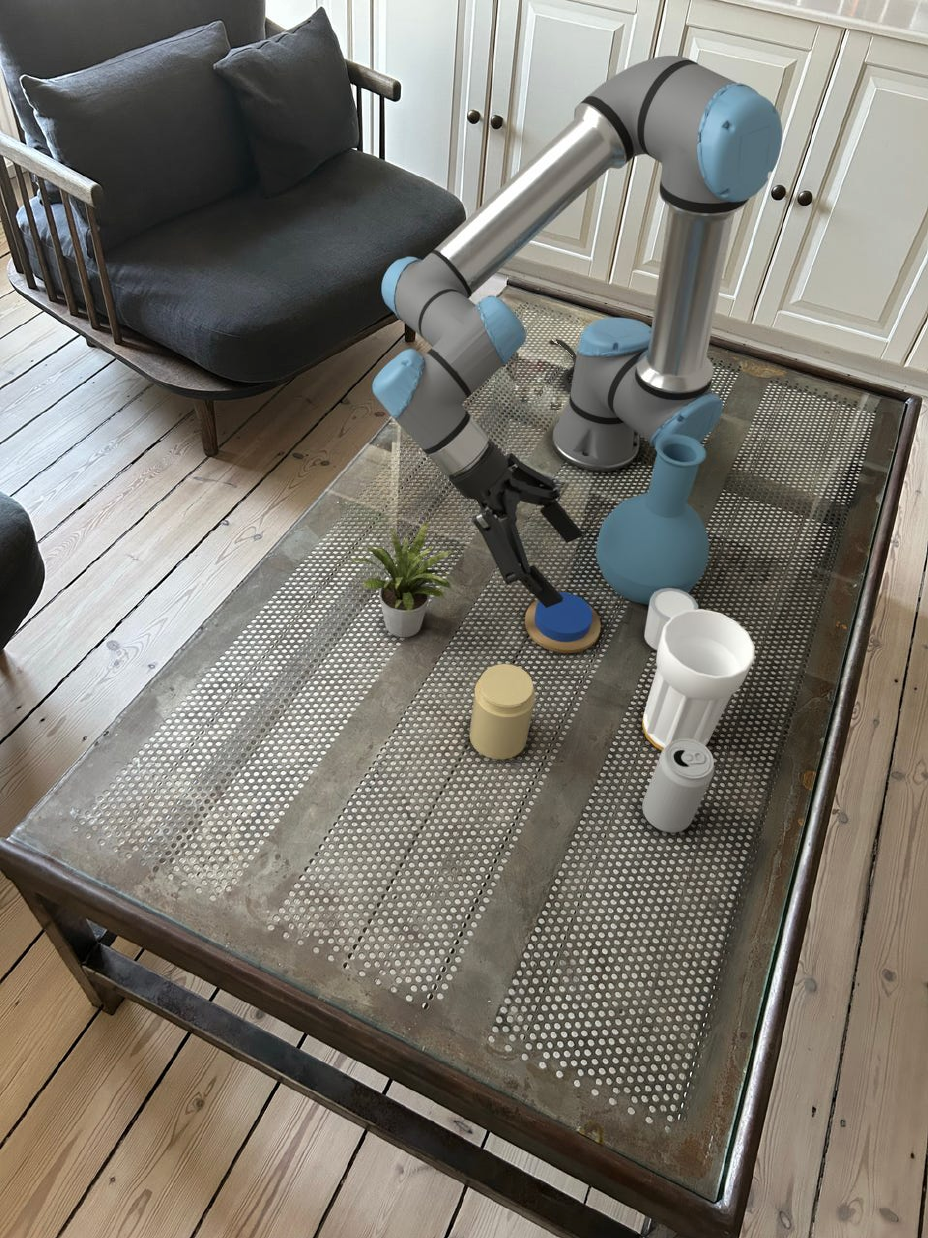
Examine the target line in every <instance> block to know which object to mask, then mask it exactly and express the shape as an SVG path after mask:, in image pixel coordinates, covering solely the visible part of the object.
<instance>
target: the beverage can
mask: <svg viewBox="0 0 928 1238" xmlns="http://www.w3.org/2000/svg"><path fill="white" fill-rule="evenodd" d="M714 774H715V760H714V755H713V754H712V752H711V751H710V749H709V748H708V747H707V745H706V746H705V745H703V744H702V743H700V742H698V741H696V740H693V739H689V738H680V739H676V740H674V741H672V742H671V743H670V744H669V745H668V746H666V747H665V748H664V749H663V751H661V752H660V755H659V758H658V760H657V763H656V765H655V769H654V771H653V774H652V776H651V779H650V781H649V784H648V786H647V789H646V792H645V795H644V797H643V800H642V803H641V804H642V805H641V809H642V813H643V815H644V817H645V819H646V821H647V822H648V823H649V824H650V825H651V826H653V827H654V828H655V829H657V830H659V831H661V832H665V833H679V832H682V831H684V830H686V829H688V828H689V827H690V825H691V824H692V822H693V820H694V818H695V817H696V813H697V811H698V809H699V807H700V805H701V802H702V801H703V798H704V796H705V795H706V792H707V790H708V787H709V785H710V783H711V781H712V779H713V777H714Z"/></svg>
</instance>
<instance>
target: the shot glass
mask: <svg viewBox="0 0 928 1238" xmlns="http://www.w3.org/2000/svg"><path fill="white" fill-rule="evenodd" d="M647 609H648V610H647V616H646V621H645V627H644V640H645V642H646V644H648V646H650V648H652V649H653V650H656V651H657V649H658V646H659V642H660V639H661V635H662V631H663V628H664V626H665V625H666V624H667V622H668V621H669V620H670V619H671V618H672V617H673V616H675V615H677V614H679V613H681V612H684V611H686V610H699V604H698V602H697V601H696V599H695V598H694V597H693V596H692V595H691V594H690V593H689V592H688V593H686V592H684V591H682V590H680V589H674V588H664V589H660V590H658V591H656V592H654V593H653V595H652V596H651V598H650V603H649V605H648V608H647Z"/></svg>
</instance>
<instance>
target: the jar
mask: <svg viewBox="0 0 928 1238" xmlns="http://www.w3.org/2000/svg"><path fill="white" fill-rule="evenodd" d="M536 695H537V694H536V690H535V687H534V683H533V680H532V677H531V676H530V674H528V672H526V671H525V670H524V669H523V668H522V667H519V666H517V665H513V664H508V663H500V664H499V663H498V664H495V665H492V666H490V667H488V668H486V669H485V671H484V672H483V673H482V674H481V676H480V678H478V680H477V681H476V684H475V686H474V693H473V700H472V707H471V708H472V709H471V715H470V716H471V717H470V724H469V732H468V736H469V737H468V738H469V741H470V743H471V745H472V747H473V748H474V749H475V751H476V752H478V753H479V754H480V755H482V756H484V757H486V758H489V759H492V760H508V759H511V758H514V757H516V756H517V755H519V754H521V752H522V751H524V749H525V747H526V745H527V743H528V742H527V741H528V736H529V732H530V727H531V722H532V717H533V712H534V707H535V702H536V697H537V696H536Z"/></svg>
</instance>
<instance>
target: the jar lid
mask: <svg viewBox="0 0 928 1238" xmlns="http://www.w3.org/2000/svg"><path fill="white" fill-rule="evenodd" d="M558 593H559V594H560V595H561V596H562V597H563V600H562V602H560V603H558V604H555V605H553V606H550V607H548V608H546V607H545V606H544V605H543V604H542V603H541V602H540V601H539V602H538V604H537V606H536V611H535V618H534V619H535V624H536V626H537V628H538V630H539V631H540V632H541V633H542V634H543V635H545V636H546V637H548V638H550V639H552V640H555V641H560V642H573V641H577V640H579V639H581V638H583V637H584V636H585V635H586V634H587V633H588V632H589V629H590V626H591V622H592V617H593V615H592V610H591V608H590V606H591V605H590V606H589V604H588V602H587V601H586V600H584V599H583V598H582V597H580V596H578V595H576V594H574V593H569V592H564V591H558Z"/></svg>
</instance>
